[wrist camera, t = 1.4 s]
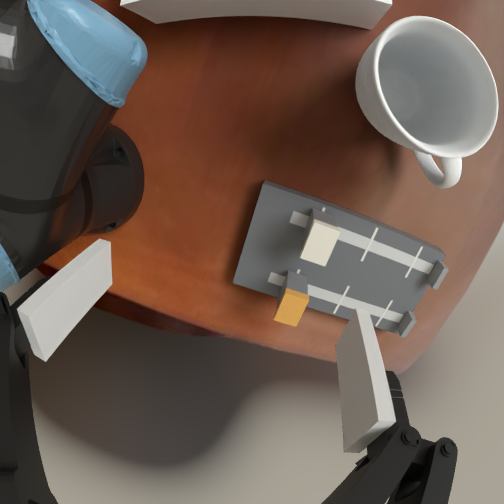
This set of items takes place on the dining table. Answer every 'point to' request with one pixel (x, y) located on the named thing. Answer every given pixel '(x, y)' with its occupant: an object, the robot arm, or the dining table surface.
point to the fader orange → (292, 299)
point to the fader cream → (319, 237)
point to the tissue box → (263, 9)
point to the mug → (428, 93)
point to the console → (339, 260)
